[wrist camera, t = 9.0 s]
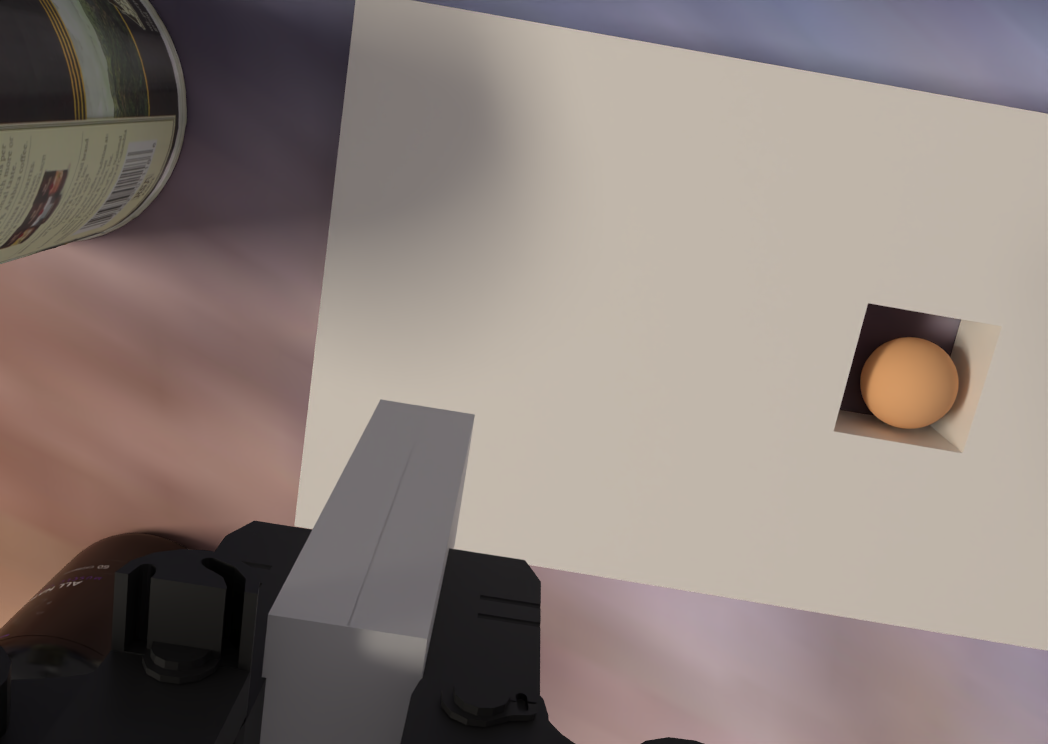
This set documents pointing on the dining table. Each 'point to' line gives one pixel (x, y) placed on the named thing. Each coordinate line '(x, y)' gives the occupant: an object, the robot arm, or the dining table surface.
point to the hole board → (691, 315)
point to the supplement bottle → (74, 611)
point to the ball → (909, 382)
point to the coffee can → (83, 118)
